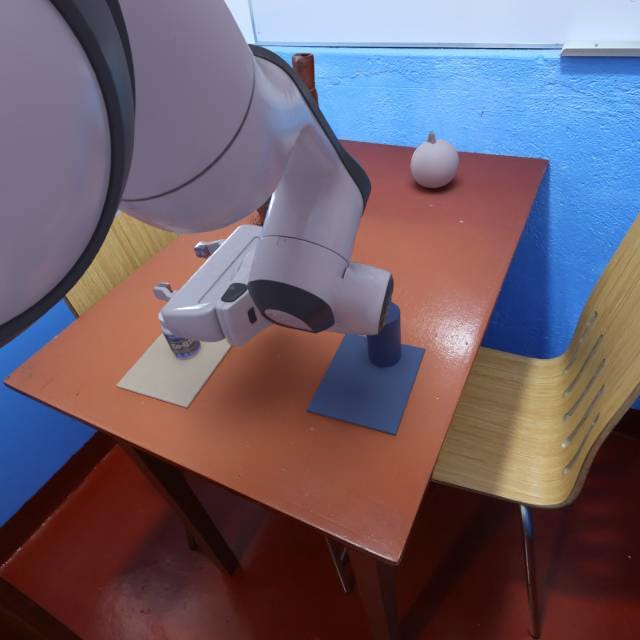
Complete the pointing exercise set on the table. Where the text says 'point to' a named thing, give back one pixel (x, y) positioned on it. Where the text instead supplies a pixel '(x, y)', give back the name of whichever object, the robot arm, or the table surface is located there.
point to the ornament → (434, 162)
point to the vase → (306, 71)
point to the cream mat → (173, 372)
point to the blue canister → (386, 340)
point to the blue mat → (366, 386)
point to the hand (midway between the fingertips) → (178, 268)
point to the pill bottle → (179, 343)
